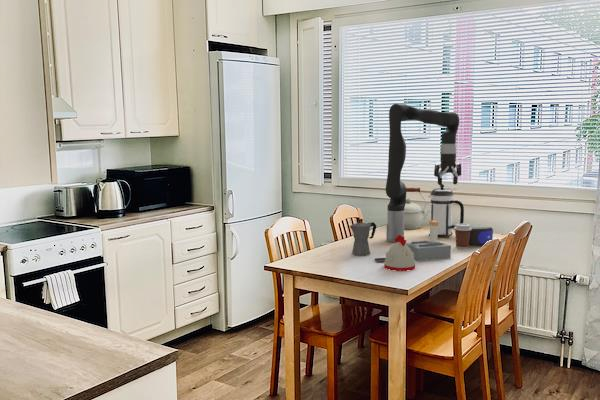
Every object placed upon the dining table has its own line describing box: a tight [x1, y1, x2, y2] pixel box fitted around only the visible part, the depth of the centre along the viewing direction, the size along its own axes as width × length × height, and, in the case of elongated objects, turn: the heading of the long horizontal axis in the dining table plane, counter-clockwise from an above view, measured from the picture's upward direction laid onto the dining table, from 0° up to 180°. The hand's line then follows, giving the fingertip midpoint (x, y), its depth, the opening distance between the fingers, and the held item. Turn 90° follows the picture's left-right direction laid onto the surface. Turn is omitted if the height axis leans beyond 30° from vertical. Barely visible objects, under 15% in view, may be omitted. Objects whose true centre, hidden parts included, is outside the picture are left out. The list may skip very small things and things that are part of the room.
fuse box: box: [405, 240, 452, 262], centre depth 283 cm, size 18×14×7 cm
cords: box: [374, 257, 386, 263], centre depth 275 cm, size 17×4×1 cm, turn 99°
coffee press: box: [428, 183, 465, 239], centre depth 329 cm, size 17×16×30 cm
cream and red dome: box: [383, 235, 416, 272], centre depth 262 cm, size 14×14×15 cm
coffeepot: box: [349, 218, 377, 257], centre depth 288 cm, size 15×9×18 cm, turn 115°
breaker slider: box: [426, 220, 441, 244], centre depth 283 cm, size 4×6×11 cm
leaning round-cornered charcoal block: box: [469, 226, 494, 247], centre depth 305 cm, size 16×5×9 cm, turn 96°
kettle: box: [404, 187, 431, 230], centre depth 356 cm, size 25×18×25 cm
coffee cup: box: [453, 223, 473, 250], centre depth 301 cm, size 9×9×12 cm
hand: (447, 184), depth 290 cm, fingers open, 8 cm apart
